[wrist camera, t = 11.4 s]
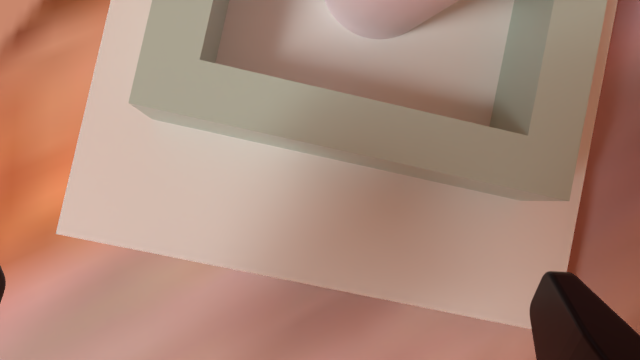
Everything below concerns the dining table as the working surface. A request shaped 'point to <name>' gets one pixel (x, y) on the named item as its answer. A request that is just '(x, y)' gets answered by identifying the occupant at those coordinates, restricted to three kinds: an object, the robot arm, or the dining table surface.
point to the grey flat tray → (346, 145)
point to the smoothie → (384, 15)
